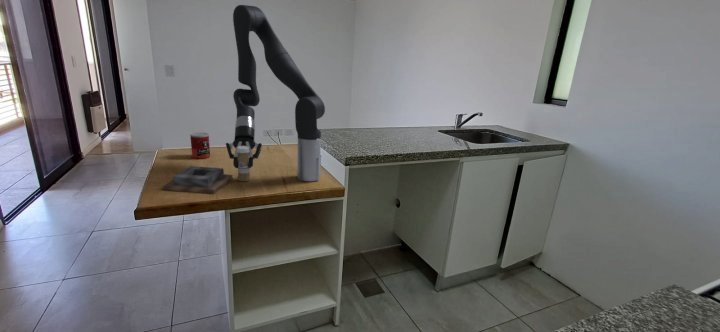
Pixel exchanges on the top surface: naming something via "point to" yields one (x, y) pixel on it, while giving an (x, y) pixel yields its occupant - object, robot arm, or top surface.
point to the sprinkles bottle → (243, 163)
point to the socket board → (200, 189)
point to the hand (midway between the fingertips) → (243, 167)
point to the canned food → (200, 145)
